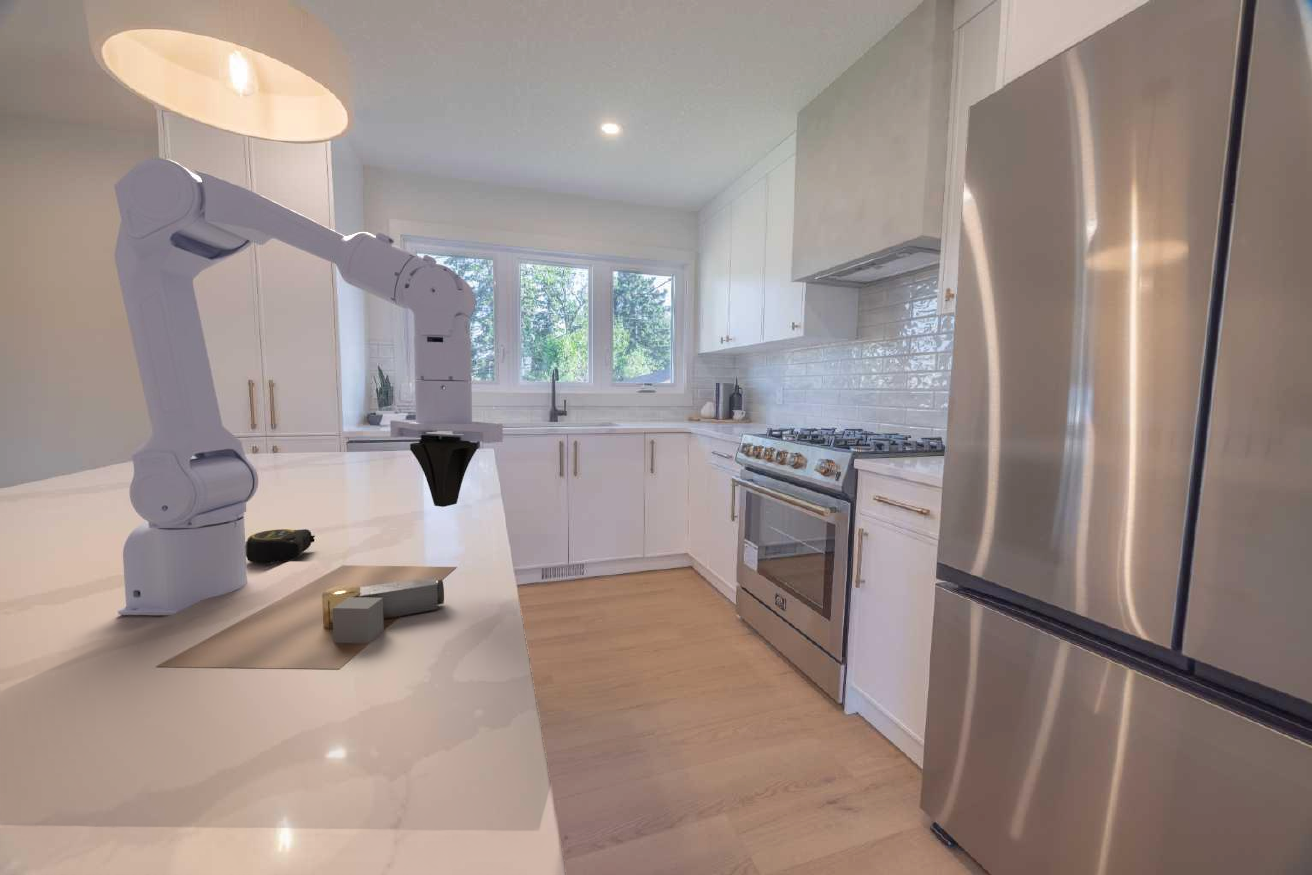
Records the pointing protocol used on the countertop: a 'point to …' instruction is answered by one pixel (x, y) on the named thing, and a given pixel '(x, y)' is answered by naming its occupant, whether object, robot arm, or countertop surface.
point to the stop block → (357, 620)
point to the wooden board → (295, 626)
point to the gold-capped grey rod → (389, 597)
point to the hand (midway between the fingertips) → (445, 504)
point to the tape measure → (277, 545)
